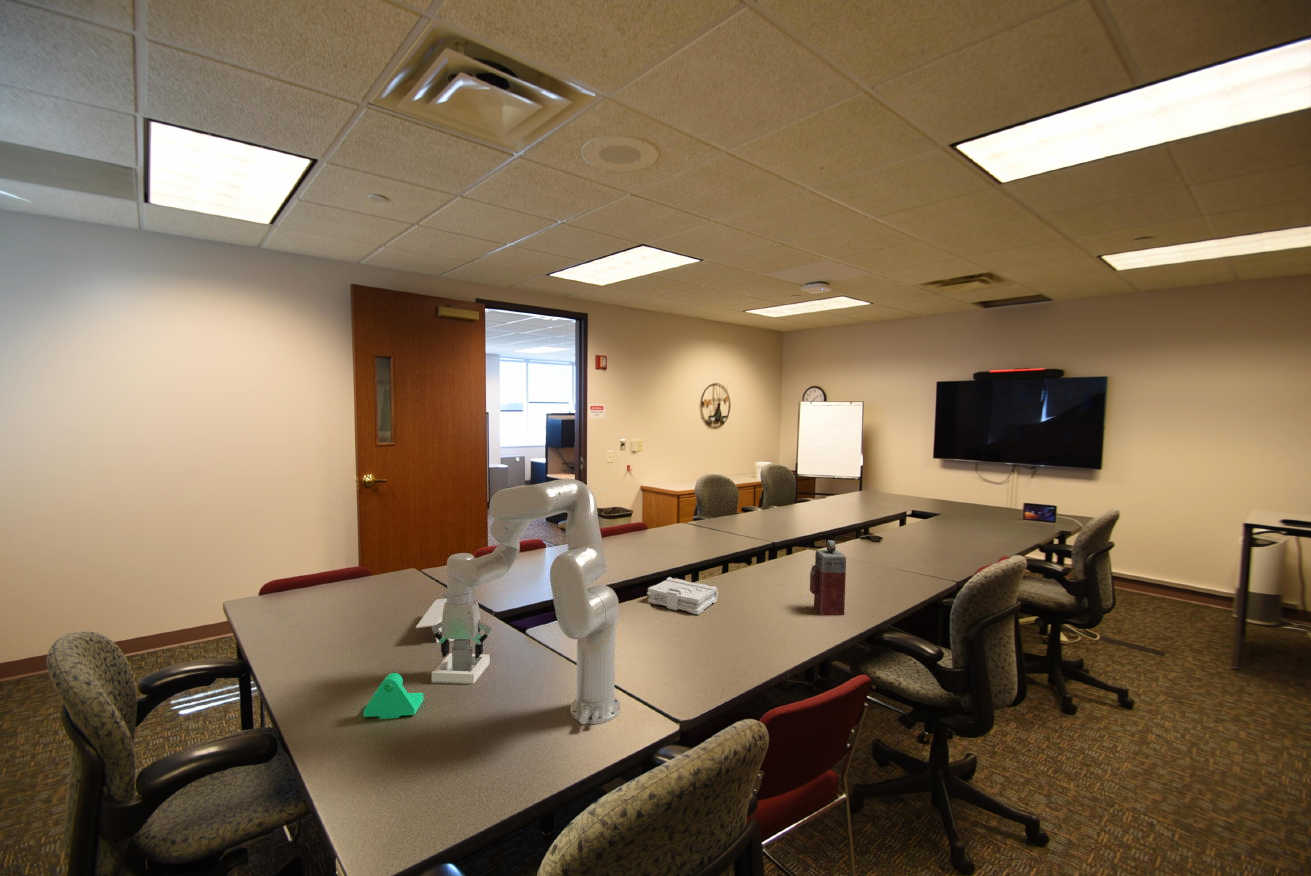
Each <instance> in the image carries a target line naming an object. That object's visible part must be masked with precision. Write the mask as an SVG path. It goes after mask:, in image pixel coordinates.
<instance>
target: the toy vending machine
mask: <svg viewBox="0 0 1311 876" xmlns="http://www.w3.org/2000/svg"><path fill="white" fill-rule="evenodd" d="M825 547H826V549H817V550H815V556H814V557H815V558H814V559H815V561H814V565H812V566H811V568H810V569H811V570H810V574H809V591H810V592H811V594H812V595H814V596H813V608H814V609H815V611H816V612H817V613H818V614H819V615H820V616H823V617H825V616H827V617H828V616H829V617H830V616H845V606H846V605H845V604H846V602H845V601H846V581H847V579H846V575H847V574H846V572H847V556H846V555H845V554H843V553H842V552H841V551H839V550H838V549H837V547H836V541H835V540H830V539H827V541H826V543H825Z"/></svg>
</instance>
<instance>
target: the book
mask: <svg viewBox="0 0 1311 876" xmlns="http://www.w3.org/2000/svg"><path fill="white" fill-rule="evenodd" d="M646 595H649V597H648V598H647V603H650V604H653V605H661V606H663V607H664V606H665V607H666V609H669V610H673V611H679V610H681V611H686V612H688V613H690V614H694V615H700V614H701V613H703V612H704V610H705V609H707V608H708V607H710V606H711V605H712V603H714V604H715V603H716V602H717V600H718V597H719V590H718V587H717V586H716V585H715V586H714V585H712V586H710V585H708V584H704V583H699V582H698V583H696V582H689V581H687V580H684V579H680V578H679V579H678V578H672V577H671V576H669V577H667V578H666V580H663V581H661V582H660V583H657V584H655V585H652V586H649V587H648V588H647V592H646Z"/></svg>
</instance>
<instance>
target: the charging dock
mask: <svg viewBox="0 0 1311 876" xmlns="http://www.w3.org/2000/svg"><path fill="white" fill-rule="evenodd" d="M490 656H491V655H490V654H487V653H486V654H483V653H482V654H481V655H480V656H479V658H475V653H472V670H471V672H469V671H452V652H449V653H448V654H447V655H446V656H445V657H444V659H443V660H442V661H441V662H440V663H439V664H438V665H437V666H436V667H435V668H434V669H433V671H432V672H431V684H457V685H460V684H461V685H462V684H463V685H475V683H476V682H477V681H478V680H479V678H480V677H481V676H482V675H483V673H484V672H485V671H486V670H487V668H488V667H489V665H490V664H491V662H490V661H491V659H490V658H491V657H490Z"/></svg>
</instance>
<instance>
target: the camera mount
mask: <svg viewBox="0 0 1311 876" xmlns="http://www.w3.org/2000/svg"><path fill="white" fill-rule="evenodd" d="M403 681H404V679H403V677H402V676H401V675H400V674H399V673H397V672H391V673H389V674H387V675H386V676H385V678H384V679H383V680H382V681H381V683H379V686H378V687H377V689H376V690H375V692H374V693H373V695H372V697H371V698H370V700H369V701H368V703H367V704H366V706H365V708H364V709H363V711H362V712H363V713H362V715H363V716H362V717H364V718H366V717H367V718H368V717H369V718H370V717H378V720H388V719H390V720H391V719H400V718H401V716H415V714H416V713H417V712H418V710H419V709H420V706H421V705H422V703H423V702H424V692H408V691H407V689H406V688H405V686H403V683H404V682H403Z"/></svg>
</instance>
